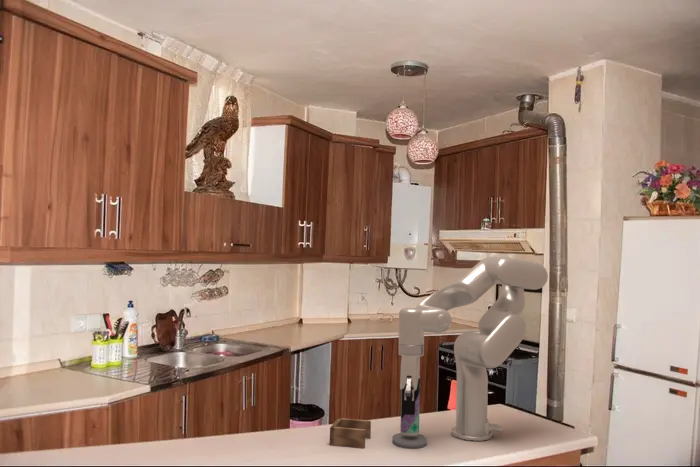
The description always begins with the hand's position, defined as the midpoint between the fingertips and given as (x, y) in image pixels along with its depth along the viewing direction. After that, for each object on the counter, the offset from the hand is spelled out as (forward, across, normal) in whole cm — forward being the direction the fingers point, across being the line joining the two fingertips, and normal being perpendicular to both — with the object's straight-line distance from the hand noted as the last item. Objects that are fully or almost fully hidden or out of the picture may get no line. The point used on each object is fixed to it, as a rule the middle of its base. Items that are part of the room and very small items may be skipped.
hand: (410, 410), depth 166 cm
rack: (+9, +3, -17) cm, 20 cm away
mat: (+9, 0, 0) cm, 9 cm away
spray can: (+7, 0, 0) cm, 7 cm away
